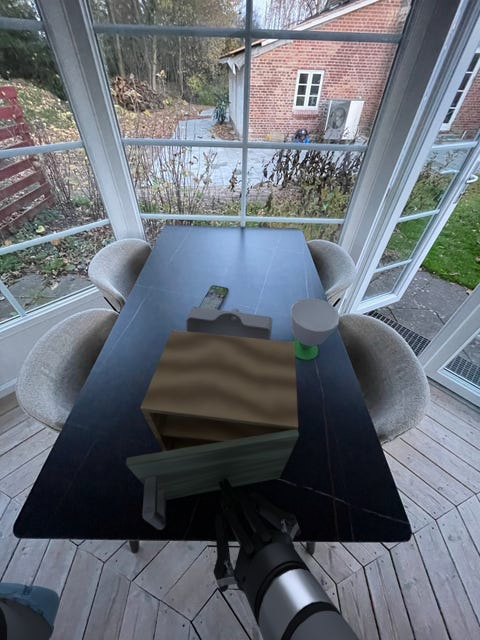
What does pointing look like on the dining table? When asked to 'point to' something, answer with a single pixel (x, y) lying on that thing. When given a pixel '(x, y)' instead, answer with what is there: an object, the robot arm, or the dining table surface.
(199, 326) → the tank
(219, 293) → the smartphone
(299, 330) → the cup
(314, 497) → the dining table surface
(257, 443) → the cupboard door
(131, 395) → the dining table surface
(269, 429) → the cupboard
